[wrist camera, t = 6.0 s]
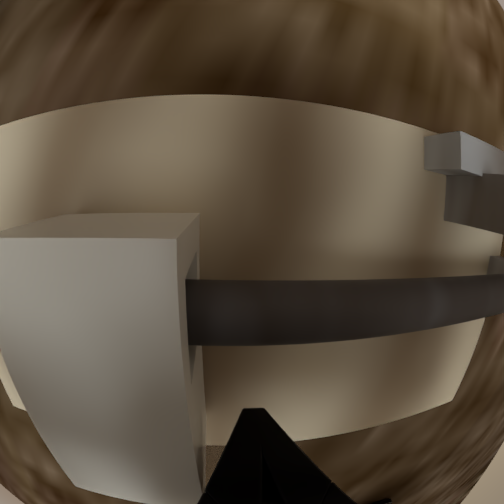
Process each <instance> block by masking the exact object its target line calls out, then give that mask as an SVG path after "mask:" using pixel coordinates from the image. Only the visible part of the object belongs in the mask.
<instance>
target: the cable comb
mask: <svg viewBox="0 0 504 504" xmlns="http://www.w3.org/2000/svg"><path fill="white" fill-rule="evenodd" d="M89 213H200V250H199V262H200V279H185V290H186V314H187V333H188V345H197V346H202V358H203V376H204V392H205V406H206V419H207V421H206V445H226V444H227V442H228V440H229V438H230V435H231V433H232V431H233V429H234V427H235V424H236V422H237V420H238V418H239V415H240V413H241V411H242V409H243V408H265V409H266V410H267V411H268V413H269V414H270V415H271V416H272V417H273V419H274V420H275V421H276V422H277V423H278V424H279V425H280V427H281V428H282V429H283V430H284V431H285V432H286V433H287V434H288V436H289V437H290V438H291V439H292V440H293V441H300V440H308V439H315V438H321V437H327V436H333V435H338V434H343V433H348V432H353V431H357V430H362V429H366V428H370V427H374V426H378V425H382V424H385V423H389V422H392V421H396V420H399V419H402V418H406V417H409V416H412V415H415V414H418V413H421V412H423V411H426V410H429V409H432V408H434V407H437V406H440V405H442V404H445V403H447V402H449V401H452V400H453V398H454V396H455V394H456V392H457V389H458V387H459V385H460V383H461V381H462V379H463V376H464V374H465V372H466V369H467V367H468V365H469V362H470V360H471V357H472V355H473V352H474V349H475V347H476V344H477V341H478V338H479V336H480V333H481V330H482V327H483V323H484V320H485V317H489V316H493V315H497V314H501V313H504V257H501V256H500V252H501V246H502V239H503V235H504V152H503V151H501V150H499V149H498V148H496V147H494V146H492V145H490V144H488V143H486V142H484V141H481V140H479V139H477V138H475V137H473V136H471V135H468V134H466V133H464V132H462V131H457V132H450V133H444V134H438V133H435V132H432V131H429V130H426V129H423V128H420V127H417V126H413V125H410V124H407V123H403V122H400V121H396V120H393V119H389V118H385V117H381V116H377V115H373V114H369V113H364V112H360V111H355V110H351V109H346V108H340V107H335V106H330V105H324V104H318V103H311V102H304V101H297V100H288V99H279V98H269V97H257V96H241V95H205V94H200V95H165V96H149V97H137V98H127V99H119V100H111V101H104V102H97V103H91V104H85V105H79V106H74V107H69V108H64V109H59V110H55V111H51V112H46V113H42V114H39V115H35V116H31V117H27V118H24V119H20V120H17V121H14V122H11V123H8V124H4V125H1V126H0V231H2V230H5V229H9V228H13V227H16V226H20V225H24V224H28V223H32V222H36V221H40V220H44V219H48V218H52V217H56V216H61V215H65V214H89ZM0 379H1V381H2V383H3V385H4V388H5V390H6V392H7V394H8V396H9V398H10V400H11V402H12V404H13V406H15V407H17V408H20V409H22V410H25V411H26V409H25V407H24V405H23V403H22V401H21V398H20V396H19V394H18V392H17V390H16V388H15V386H14V383H13V381H12V379H11V376H10V374H9V371H8V369H7V366H6V364H5V361H4V359H3V356H2V353H1V350H0Z"/></svg>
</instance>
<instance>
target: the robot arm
mask: <svg viewBox="0 0 504 504" xmlns="http://www.w3.org/2000/svg"><path fill="white" fill-rule="evenodd" d="M331 482H332V481H331V480H330V479H329V478H328V477H327V476H326V475H325V474H324V473H323V472H322V471H321V470H320V469H319V468H318V467H317V466H316V465H315V464H314V463H313V461H312V460H311V459H310V458H309V457H308V456H307V455H306V454H305V453H304V452H303V451H302V450H301V449H300V448H299V447H298V446H297V444H296V443H295V442H294V441H293V440H292V439H291V438H290V437H289V436H288V434H287V433H286V432H285V431H284V430H283V429H282V428H281V427H280V425H279V424H278V423H277V422H276V421H275V420H274V419H273V417H272V416H271V415H270V414H269V413H268V411H267V410H266V409H265V408H243V409H242V411H241V413H240V415H239V418H238V420H237V422H236V424H235V427H234V429H233V431H232V433H231V435H230V438H229V440H228V442H227V444H226V446H225V449H224V451H223V453H222V455H221V457H220V459H219V461H218V463H217V465H216V468H215V470H214V472H213V474H212V476H211V478H210V480H209V482H208V484H207V486H206V488H205V490H204V492H203V494H202V496H201V497H200V499H199V501H198V503H197V504H357V503H356V502H354V501H353V500H352V499H351V498H350V497H349V496H347V495H346V494H345V493H344V492H343V491H342V490H341V489H340V488H339V487H338V486H337V485H336V484H335V483H333V482H332V483H331ZM391 503H392V501H391V499H387V500H385V501H382V502H379V503H376V504H391Z"/></svg>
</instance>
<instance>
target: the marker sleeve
mask: <svg viewBox="0 0 504 504" xmlns="http://www.w3.org/2000/svg"><path fill="white" fill-rule="evenodd" d="M199 250H200V213H89V214H65V215H61V216H56V217H52V218H48V219H44V220H40V221H36V222H32V223H28V224H24V225H20V226H16V227H13V228H9V229H5V230H2V231H0V350H1V353H2V356H3V359H4V361H5V364H6V366H7V369H8V371H9V374H10V376H11V379H12V381H13V383H14V386H15V388H16V390H17V392H18V394H19V396H20V398H21V401H22V403H23V405H24V407H25V409H26V411H27V412H28V414H29V416H30V418H31V420H32V422H33V424H34V425H35V427H36V429H37V431H38V432H39V434H40V436H41V437H42V439H43V441H44V442H45V444H46V445H47V447H48V449H49V450H50V452H51V453H52V455H53V456H54V458H55V459H56V461H57V462H58V463H59V465H60V466H61V468H62V469H63V470H64V472H65V473H66V475H67V476H68V477H69V479H70V480H71V481H72V482H73V484H74V485H75V486H76V487H79V488H82V489H86V490H89V491H93V492H96V493H100V494H104V495H108V496H112V497H116V498H120V499H125V500H130V501H135V502H141V503H147V504H197V503H198V501H199V499H200V497H201V496H202V494H203V492H204V490H205V469H206V421H207V419H206V406H205V392H204V376H203V358H202V346H197V345H188V333H187V314H186V290H185V279H200V262H199Z"/></svg>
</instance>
